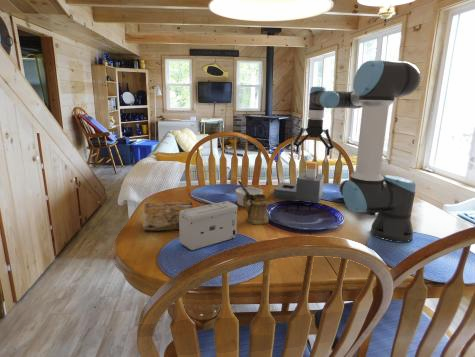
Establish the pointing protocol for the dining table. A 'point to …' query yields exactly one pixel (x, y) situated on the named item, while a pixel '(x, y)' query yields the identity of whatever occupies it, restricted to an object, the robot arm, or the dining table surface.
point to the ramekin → (241, 193)
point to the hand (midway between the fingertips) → (311, 160)
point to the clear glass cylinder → (311, 169)
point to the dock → (301, 189)
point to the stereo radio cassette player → (207, 224)
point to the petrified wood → (163, 215)
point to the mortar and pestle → (255, 207)
